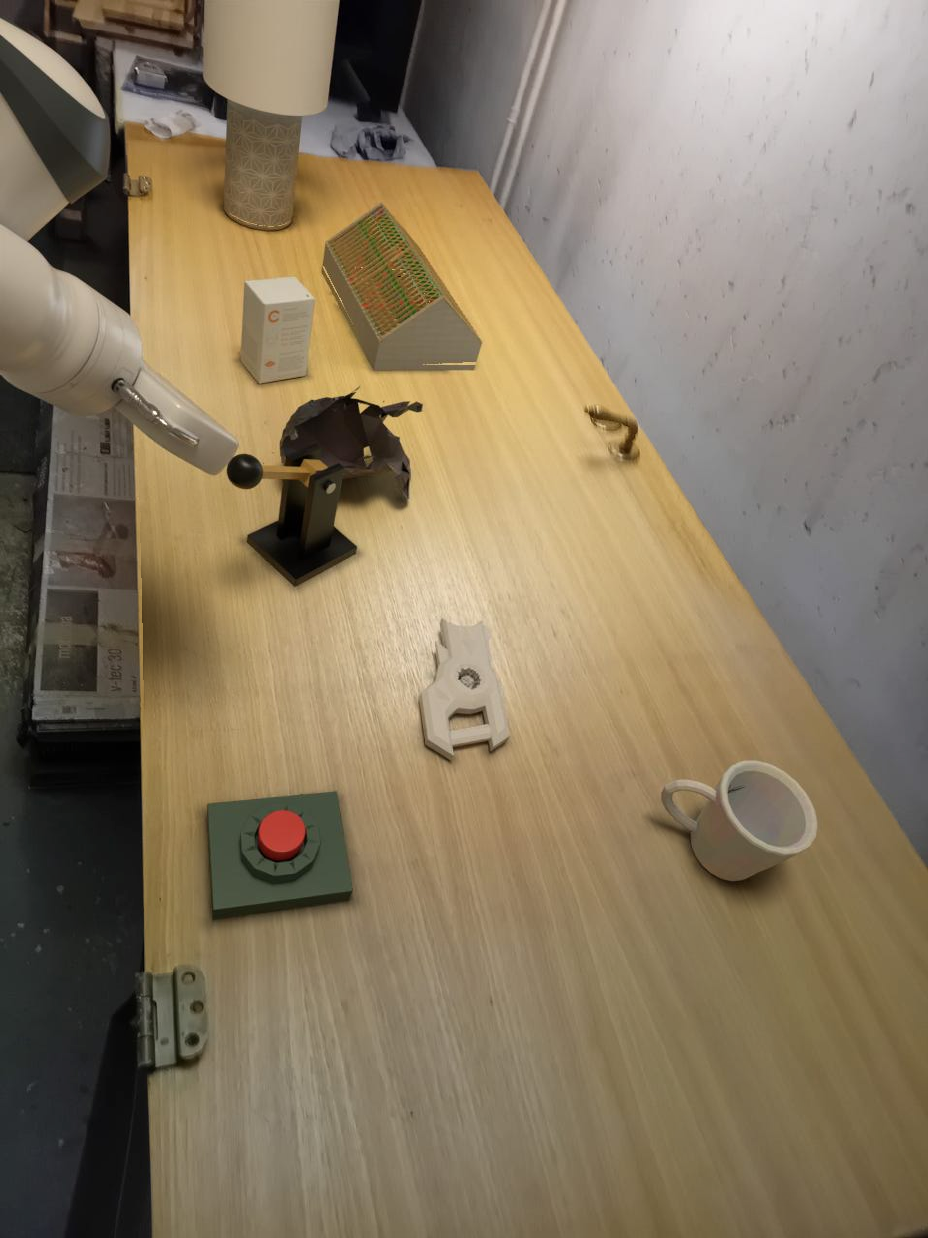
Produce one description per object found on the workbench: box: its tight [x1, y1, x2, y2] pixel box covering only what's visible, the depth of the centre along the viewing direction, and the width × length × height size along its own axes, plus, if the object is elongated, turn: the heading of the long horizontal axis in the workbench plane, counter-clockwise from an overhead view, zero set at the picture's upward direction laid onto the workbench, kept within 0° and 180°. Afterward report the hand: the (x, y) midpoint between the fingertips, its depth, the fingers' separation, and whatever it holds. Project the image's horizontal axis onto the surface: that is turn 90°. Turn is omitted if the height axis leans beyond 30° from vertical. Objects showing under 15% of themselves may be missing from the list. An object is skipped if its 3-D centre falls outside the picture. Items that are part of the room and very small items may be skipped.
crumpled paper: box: [262, 384, 424, 500], centre depth 106 cm, size 14×15×20 cm
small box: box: [240, 275, 316, 385], centre depth 120 cm, size 8×6×13 cm
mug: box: [660, 759, 819, 882], centre depth 85 cm, size 10×15×10 cm
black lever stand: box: [246, 443, 358, 587], centre depth 97 cm, size 10×9×14 cm
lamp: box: [202, 0, 340, 232], centre depth 140 cm, size 21×21×42 cm
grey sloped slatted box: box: [321, 201, 484, 372], centre depth 138 cm, size 30×19×13 cm, turn 22°
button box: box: [206, 790, 354, 920], centre depth 74 cm, size 12×10×4 cm
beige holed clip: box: [418, 617, 511, 761], centre depth 92 cm, size 18×3×10 cm
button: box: [258, 810, 305, 861], centre depth 72 cm, size 4×4×2 cm
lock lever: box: [226, 453, 328, 490], centre depth 88 cm, size 14×4×4 cm, turn 138°
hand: (190, 418), depth 74 cm, fingers closed
